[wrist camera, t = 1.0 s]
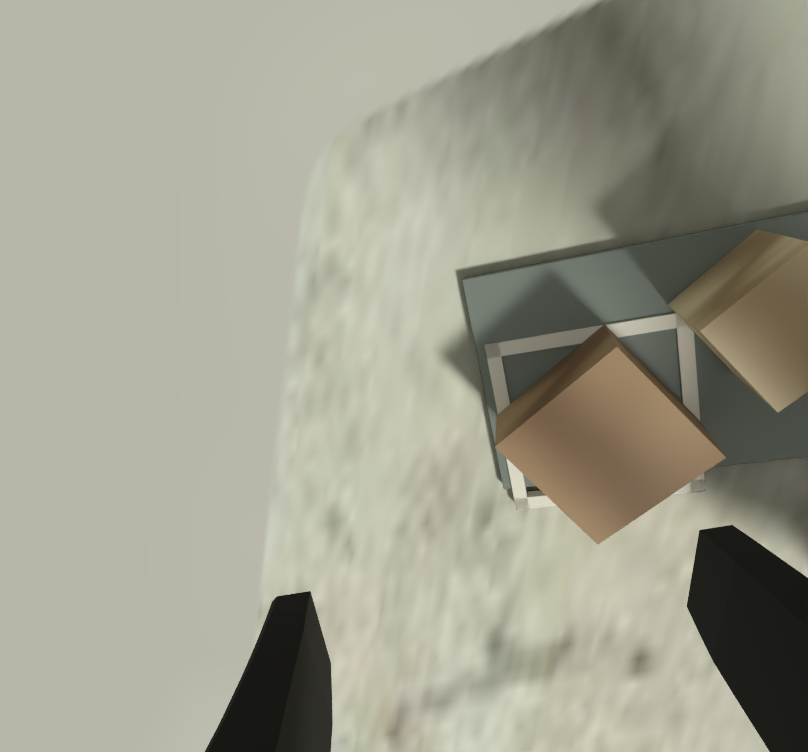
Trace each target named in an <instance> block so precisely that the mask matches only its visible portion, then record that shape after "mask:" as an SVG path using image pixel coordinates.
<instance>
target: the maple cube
mask: <svg viewBox="0 0 808 752" xmlns="http://www.w3.org/2000/svg"><path fill="white" fill-rule="evenodd" d="M668 305H669V306H670V307H671V308H672V309H673V310H674V312H675V313H676V314H677V315H678V316H679V317H680V318H681V319H682V320H683V321H684V322H685V323H686V324H687V325H688V326H689V327H690V328H691V329H692V330H693V331H694V332H695V333H696V335H697V336H698V337H699V338H700V339H701V340H702V341H703V342H704V343H705V344H706V345H707V346H708V347H709V348H710V349H711V350H712V351H713V352H714V353H715V354H716V355H717V356H718V358H719V359H720V360H721V361H722V362H723V363H724V364H725V365H726V366H727V367H728V368H729V369H730V370H731V371H732V372H733V373H734V374H735V375H736V376H737V377H738V378H739V379H741V380H742V381H743V382H744V383H745V384H746V385H747V386H748V387H750V388H751V389H752V390H753V391H754V392H755V393H756V394H757V395H759V396H760V397H761V398H762V399H763V400H764V401H765V402H766V403H768V404H769V405H770V406H771V407H772V408H773V409H774V410H775V411H777V412H780V411H781V410H782V409H784V408H785V407H787V406H788V405H790V404H791V403H792V402H794V401H795V400H797V399H798V398H799V397H801V396H802V395H804V394H805V393H807V392H808V241H804V240H800V239H796V238H792V237H788V236H784V235H780V234H776V233H772V232H768V231H764V230H760V229H757V230H756V231H754V232H753V233H752V234H751V235H750V236H748V237H747V238H746V239H745V240H744V241H742V242H741V243H740V244H739V245H738V246H736V247H735V248H734V249H733V250H732V251H731V252H729V253H728V254H727V255H726V256H725V257H723V258H722V259H721V260H720V261H719V262H717V263H716V264H715V265H714V266H713V267H711V268H710V269H709V270H708V271H707V272H705V273H704V274H703V275H702V276H701V277H699V278H698V279H697V280H696V281H695V282H693V283H692V284H691V285H690V286H689V287H688V288H686V289H685V290H684V291H683V292H682V293H680V294H679V295H678V296H677V297H676V298H674V299H673V300H672V301H671V302H670V303H668Z"/></svg>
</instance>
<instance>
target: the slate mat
mask: <svg viewBox="0 0 808 752" xmlns="http://www.w3.org/2000/svg"><path fill="white" fill-rule="evenodd" d="M757 229H760V230H764V231H768V232H772V233H776V234H780V235H784V236H788V237H792V238H796V239H800V240H804V241H808V211H805V212H800V213H795V214H790V215H785V216H780V217H774V218H769V219H764V220H759V221H754V222H749V223H744V224H739V225H733V226H728V227H723V228H718V229H713V230H708V231H703V232H698V233H693V234H687V235H682V236H677V237H672V238H667V239H662V240H657V241H652V242H646V243H641V244H636V245H631V246H626V247H621V248H616V249H611V250H605V251H600V252H595V253H590V254H585V255H580V256H575V257H570V258H565V259H559V260H554V261H549V262H544V263H539V264H534V265H529V266H524V267H518V268H513V269H508V270H503V271H498V272H493V273H488V274H483V275H478V276H472V277H467V278H463V280H462V281H463V286H464V291H465V296H466V301H467V306H468V312H469V317H470V322H471V327H472V332H473V337H474V342H475V347H476V352H477V357H478V362H479V367H480V372H481V377H482V382H483V387H484V392H485V397H486V402H487V408H488V413H489V418H490V423H491V428H492V433H493V438H494V443H495V434H496V416H497V415H498V414H499V413H500V412H501V411H502V410H504V409H505V408H506V407H507V406H508V405H510V404H511V403H512V402H513V401H514V400H515V399H517V398H518V397H519V396H520V395H521V394H523V393H524V392H525V391H526V390H527V389H528V388H530V387H531V386H532V385H533V384H534V383H536V382H537V381H538V380H539V379H540V378H541V377H543V376H544V375H545V374H546V373H547V372H548V371H550V370H551V369H552V368H553V367H554V366H556V365H557V364H558V363H559V362H560V361H561V360H563V359H564V358H565V357H566V356H567V355H569V354H570V353H571V352H572V351H573V350H574V349H576V348H577V347H578V346H579V345H580V344H582V343H583V342H584V341H585V340H586V339H587V338H589V337H590V336H591V335H592V334H593V333H595V332H596V331H597V330H598V329H599V328H600V327H602V326H603V325H604V324H605V325H606V326H607V327H608V328H609V329H610V330H611V331H612V332H613V333H614V334H615V335H616V336H617V337H618V338H619V339H620V340H621V341H622V342H623V343H624V344H625V345H626V346H627V347H628V348H629V349H630V350H631V351H632V352H633V353H634V354H635V355H636V356H637V357H638V358H639V359H640V360H641V361H642V362H643V363H644V364H645V366H646V367H647V368H648V369H649V370H650V371H651V372H652V373H653V374H654V375H655V376H656V377H657V378H658V379H659V380H660V381H661V382H662V383H663V384H664V385H665V386H666V387H667V388H668V389H669V390H670V391H671V392H672V393H673V394H674V395H675V396H676V397H677V398H678V399H679V400H680V401H681V402H682V403H683V404H684V405H685V406H686V407H687V408H688V409H689V410H690V411H691V412H692V413H693V414H694V415H695V416H696V417H697V418H698V419H699V421H700V422H701V423H702V424H703V425H704V427H705V428H706V429H707V431H708V432H709V434H710V435H711V437H712V438H713V440H714V441H715V442H716V444H717V445H718V447H719V448H720V450H721V451H722V452H723V454H724V455H725V457H726V458H725V459H724V460H722V461H721V462H719V463H718V464H716V465H715V466H713V467H716V466H725V465H735V464H744V463H753V462H763V461H772V460H781V459H791V458H800V457H808V392H807V393H805V394H804V395H802V396H801V397H799V398H798V399H797V400H795V401H794V402H792V403H791V404H790V405H788V406H787V407H785V408H784V409H782V410H781V411H780V412H777V411H775V410H774V409H773V408H772V407H771V406H770V405H769V404H768V403H766V402H765V401H764V400H763V399H762V398H761V397H760V396H759V395H757V394H756V393H755V392H754V391H753V390H752V389H751V388H750V387H748V386H747V385H746V384H745V383H744V382H743V381H742V380H741V379H739V378H738V377H737V376H736V375H735V374H734V373H733V372H732V371H731V370H730V369H729V368H728V367H727V366H726V365H725V364H724V363H723V362H722V361H721V360H720V359H719V358H718V356H717V355H716V354H715V353H714V352H713V351H712V350H711V349H710V348H709V347H708V346H707V345H706V344H705V343H704V342H703V341H702V340H701V339H700V338H699V337H698V336H697V335H696V333H695V332H694V331H693V330H692V329H691V328H690V327H689V326H688V325H687V324H686V323H685V322H684V321H683V320H682V319H681V318H680V317H679V316H678V315H677V314H676V313H675V312H674V310H673V309H672V308H671V307H670V306H669V305H668V303H670V302H671V301H672V300H673V299H674V298H676V297H677V296H678V295H679V294H680V293H682V292H683V291H684V290H685V289H686V288H688V287H689V286H690V285H691V284H692V283H693V282H695V281H696V280H697V279H698V278H699V277H701V276H702V275H703V274H704V273H705V272H707V271H708V270H709V269H710V268H711V267H713V266H714V265H715V264H716V263H717V262H719V261H720V260H721V259H722V258H723V257H725V256H726V255H727V254H728V253H729V252H731V251H732V250H733V249H734V248H735V247H736V246H738V245H739V244H740V243H741V242H742V241H744V240H745V239H746V238H747V237H748V236H750V235H751V234H752V233H753V232H754V231H756V230H757ZM496 453H497V458H498V463H499V468H500V473H501V478H502V483H503V488H504V489H511V488H512V491H513V496H514V501H515V506H516V510H519V509H529V508H539V507H550V506H557V505H556V504H554V503H553V502H552V501H551V500H550V499H549V498H548V497H547V496H546V495H545V494H544V493H543V492H542V491H541V490H538V491H529V492H527V490H526V487H530V486H535V485H534V484H533V483H532V482H531V481H530V480H529V479H528V478H527V477H526V476H525V475H524V474H523V473H522V472H521V471H520V470H518V469H517V468H516V467H515V466H514V465H513V464H512V463H511V462H510V461H509V460H508V459H507V458H506V457H505V456H504V455H503V454H502V453H501V452H499V451H498V450H497V449H496ZM701 491H705V480H704V473H703V474H701V475H700V476H698V477H697V478H696V479H694V480H693V481H691V482H690V483H688V484H687V485H685V486H684V487H682V488H681V489H679V490H678V491H676V492H675V493H673V494H681V493H691V492H701Z"/></svg>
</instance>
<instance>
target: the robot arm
mask: <svg viewBox="0 0 808 752" xmlns="http://www.w3.org/2000/svg"><path fill="white" fill-rule="evenodd" d="M687 607H688V610H689V612H690V614H691V616H692V618H693V620H694V623H695V625H696V627H697V629H698V631H699V633H700V635H701V638H702V640H703V642H704V644H705V646H706V648H707V650H708V652H709V654H710V656H711V658H712V660H713V662H714V663H715V665H716V666H717V668H718V670H719V671H720V673H721V675H722V676H723V678H724V680H725V681H726V683H727V684H728V686H729V688H730V689H731V691H732V692H733V694H734V696H735V697H736V699H737V700H738V702H739V704H740V705H741V707H742V708H743V710H744V712H745V713H746V715H747V716H748V718H749V719H750V721H751V723H752V724H753V726H754V727H755V729H756V730H757V732H758V734H759V735H760V737H761V738H762V740H763V742H764V743H765V745H766V746H767V748H768V749H769V751H770V752H808V578H807V577H806V576H804V575H803V574H801V573H800V572H798V571H797V570H796V569H794V568H793V567H791V566H790V565H788V564H787V563H786V562H784V561H783V560H781V559H780V558H779V557H777V556H776V555H774V554H773V553H772V552H770V551H769V550H767V549H766V548H764V547H763V546H762V545H760V544H759V543H757V542H756V541H755V540H753V539H752V538H750V537H749V536H747V535H746V534H745V533H743V532H742V531H740V530H739V529H737V528H736V527H734V526H733V525H730V526H723V527H717V528H711V529H704V530H700V531H699V537H698V543H697V549H696V555H695V561H694V567H693V573H692V579H691V585H690V591H689V597H688V602H687ZM331 736H332V687H331V662H330V659H329V655H328V652H327V648H326V645H325V641H324V638H323V634H322V631H321V627H320V624H319V620H318V617H317V613H316V610H315V606H314V603H313V599H312V596H311V592H310V591H309V592H303V593H296V594H290V595H284V596H277V597H276V598H275V599H274V600H273V602H272V604H271V607H270V609H269V612H268V615H267V617H266V620H265V623H264V625H263V628H262V630H261V633H260V635H259V638H258V640H257V643H256V645H255V647H254V650H253V652H252V655H251V657H250V659H249V661H248V664H247V666H246V668H245V671H244V673H243V675H242V677H241V680H240V682H239V684H238V686H237V688H236V690H235V692H234V694H233V696H232V699H231V701H230V703H229V705H228V707H227V709H226V711H225V713H224V716H223V718H222V720H221V722H220V724H219V726H218V728H217V730H216V732H215V733H214V736H213V737H212V739H211V741H210V743H209V745H208V747H207V749H206V750H205V752H330V751H331Z"/></svg>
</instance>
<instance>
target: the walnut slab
mask: <svg viewBox="0 0 808 752" xmlns="http://www.w3.org/2000/svg"><path fill="white" fill-rule="evenodd" d="M495 448H496V449H497V450H498V451H499V452H501V453H502V454H503V455H504V456H505V457H506V458H507V459H508V460H509V461H510V462H511V463H512V464H513V465H514V466H515V467H516V468H517V469H518V470H520V471H521V472H522V473H523V474H524V475H525V476H526V477H527V478H528V479H529V480H530V481H531V482H532V483H533V484H534V485H535V486H536V487H538V488H539V489H540V490H541V491H542V492H543V493H544V494H545V495H546V496H547V497H548V498H549V499H550V500H551V501H552V502H553V503H554V504H556V505H557V506H558V507H559V508H560V509H561V510H562V511H563V512H564V513H565V514H566V515H567V516H568V517H569V518H570V519H571V520H572V521H574V522H575V523H576V524H577V525H578V526H579V527H580V528H581V529H582V530H583V531H584V532H585V533H586V534H587V535H588V536H589V537H590V538H592V539H593V540H594V541H595V542H596V543H597V544H599V543H601V542H602V541H604V540H605V539H607V538H608V537H610V536H611V535H613V534H614V533H616V532H617V531H619V530H620V529H622V528H623V527H625V526H626V525H628V524H629V523H630V522H632V521H633V520H635V519H636V518H638V517H639V516H641V515H642V514H644V513H645V512H647V511H648V510H650V509H651V508H653V507H654V506H656V505H657V504H659V503H660V502H662V501H663V500H664V499H666V498H667V497H669V496H670V495H672V494H673V493H675V492H676V491H678V490H679V489H681V488H682V487H684V486H685V485H687V484H688V483H690V482H691V481H693V480H694V479H696V478H697V477H698V476H700V475H701V474H703V473H704V472H706V471H707V470H709V469H710V468H712V467H713V466H715V465H716V464H718V463H719V462H721V461H722V460H724V459H725V458H726V457H725V455H724V454H723V452H722V451H721V450H720V448H719V447H718V445H717V444H716V442H715V441H714V440H713V438H712V437H711V435H710V434H709V432H708V431H707V429H706V428H705V427H704V425H703V424H702V423H701V422H700V421H699V419H698V418H697V417H696V416H695V415H694V414H693V413H692V412H691V411H690V410H689V409H688V408H687V407H686V406H685V405H684V404H683V403H682V402H681V401H680V400H679V399H678V398H677V397H676V396H675V395H674V394H673V393H672V392H671V391H670V390H669V389H668V388H667V387H666V386H665V385H664V384H663V383H662V382H661V381H660V380H659V379H658V378H657V377H656V376H655V375H654V374H653V373H652V372H651V371H650V370H649V369H648V368H647V367H646V366H645V364H644V363H643V362H642V361H641V360H640V359H639V358H638V357H637V356H636V355H635V354H634V353H633V352H632V351H631V350H630V349H629V348H628V347H627V346H626V345H625V344H624V343H623V342H622V341H621V340H620V339H619V338H618V337H617V336H616V335H615V334H614V333H613V332H612V331H611V330H610V329H609V328H608V327H607V326H606V325H605V324H604V325H603V326H602V327H600V328H599V329H598V330H597V331H596V332H595V333H593V334H592V335H591V336H590V337H589V338H587V339H586V340H585V341H584V342H583V343H582V344H580V345H579V346H578V347H577V348H576V349H574V350H573V351H572V352H571V353H570V354H569V355H567V356H566V357H565V358H564V359H563V360H561V361H560V362H559V363H558V364H557V365H556V366H554V367H553V368H552V369H551V370H550V371H548V372H547V373H546V374H545V375H544V376H543V377H541V378H540V379H539V380H538V381H537V382H536V383H534V384H533V385H532V386H531V387H530V388H528V389H527V390H526V391H525V392H524V393H523V394H521V395H520V396H519V397H518V398H517V399H515V400H514V401H513V402H512V403H511V404H510V405H508V406H507V407H506V408H505V409H504V410H502V411H501V412H500V413H499V414H498V415H497V416H496V434H495Z"/></svg>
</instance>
